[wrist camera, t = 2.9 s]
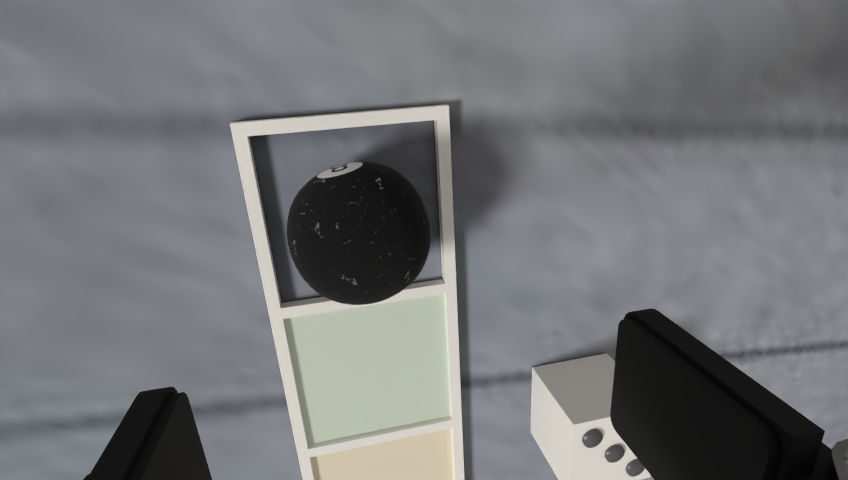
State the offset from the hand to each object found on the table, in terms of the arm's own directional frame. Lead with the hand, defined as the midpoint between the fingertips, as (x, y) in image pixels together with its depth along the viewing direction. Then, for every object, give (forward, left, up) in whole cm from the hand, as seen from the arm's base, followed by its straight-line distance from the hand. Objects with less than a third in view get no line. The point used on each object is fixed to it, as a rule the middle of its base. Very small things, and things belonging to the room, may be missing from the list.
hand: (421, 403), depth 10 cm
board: (+13, 0, -14) cm, 19 cm away
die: (+13, +12, -14) cm, 23 cm away
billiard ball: (0, 0, -14) cm, 14 cm away
